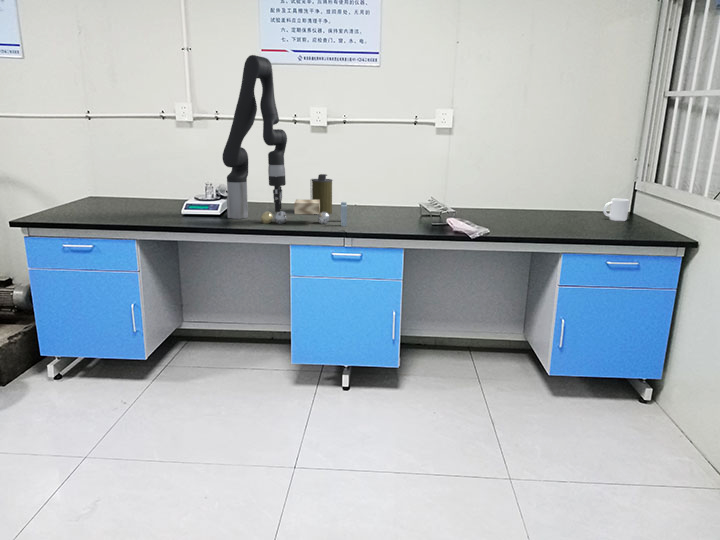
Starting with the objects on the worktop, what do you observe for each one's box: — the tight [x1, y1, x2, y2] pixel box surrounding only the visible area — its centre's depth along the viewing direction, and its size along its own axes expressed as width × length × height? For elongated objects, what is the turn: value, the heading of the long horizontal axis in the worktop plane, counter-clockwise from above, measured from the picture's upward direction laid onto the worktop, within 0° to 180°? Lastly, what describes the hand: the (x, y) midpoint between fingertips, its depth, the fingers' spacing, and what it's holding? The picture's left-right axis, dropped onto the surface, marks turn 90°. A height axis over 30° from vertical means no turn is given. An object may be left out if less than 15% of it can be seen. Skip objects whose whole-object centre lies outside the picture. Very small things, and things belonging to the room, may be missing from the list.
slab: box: [293, 199, 320, 215], centre depth 256 cm, size 11×12×5 cm
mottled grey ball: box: [274, 210, 288, 225], centre depth 256 cm, size 5×6×5 cm
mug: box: [602, 197, 630, 222], centre depth 279 cm, size 12×8×10 cm
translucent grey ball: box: [317, 211, 330, 225], centre depth 257 cm, size 5×6×5 cm
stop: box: [340, 201, 348, 227], centre depth 257 cm, size 2×14×9 cm, turn 3°
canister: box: [311, 173, 334, 216], centre depth 280 cm, size 11×10×20 cm
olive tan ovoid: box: [260, 210, 274, 225], centre depth 256 cm, size 5×6×5 cm
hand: (278, 210), depth 256 cm, fingers open, 8 cm apart
